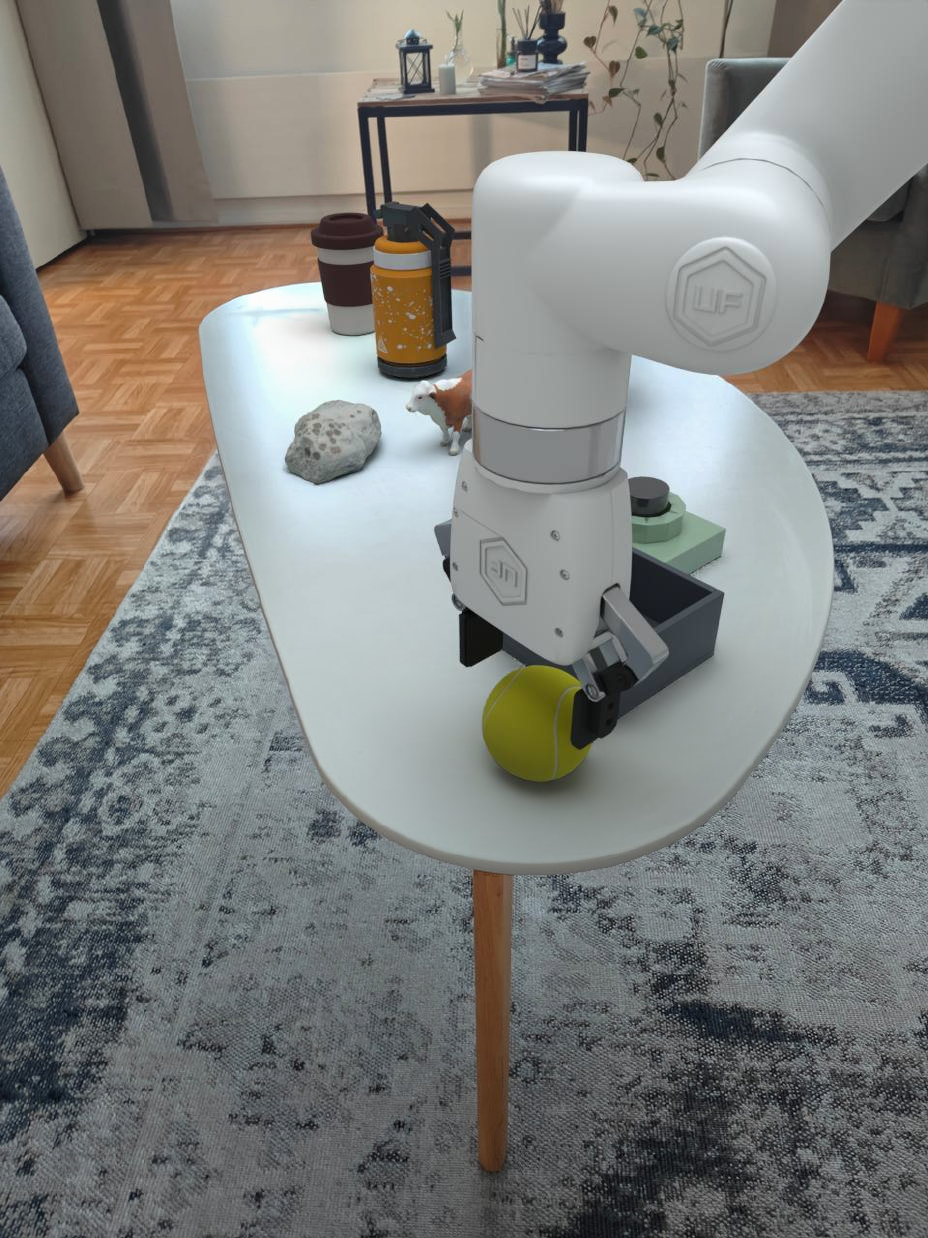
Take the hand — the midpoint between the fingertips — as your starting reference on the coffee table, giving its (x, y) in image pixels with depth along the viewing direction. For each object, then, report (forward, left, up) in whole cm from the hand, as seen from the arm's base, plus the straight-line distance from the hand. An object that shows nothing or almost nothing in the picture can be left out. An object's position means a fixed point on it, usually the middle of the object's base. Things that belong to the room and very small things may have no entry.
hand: (534, 694), depth 55 cm
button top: (+13, -25, -2) cm, 28 cm away
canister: (+61, -38, -6) cm, 72 cm away
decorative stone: (+47, -16, -6) cm, 50 cm away
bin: (+5, -12, -6) cm, 14 cm away
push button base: (+13, -25, -6) cm, 29 cm away
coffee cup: (+81, -42, -6) cm, 91 cm away
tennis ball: (0, 0, -6) cm, 6 cm away
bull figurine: (+41, -28, -6) cm, 50 cm away
